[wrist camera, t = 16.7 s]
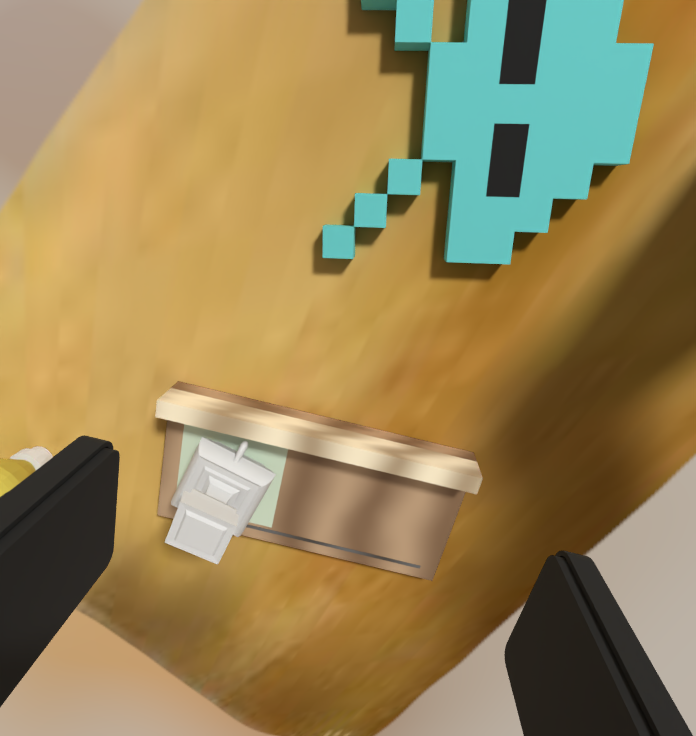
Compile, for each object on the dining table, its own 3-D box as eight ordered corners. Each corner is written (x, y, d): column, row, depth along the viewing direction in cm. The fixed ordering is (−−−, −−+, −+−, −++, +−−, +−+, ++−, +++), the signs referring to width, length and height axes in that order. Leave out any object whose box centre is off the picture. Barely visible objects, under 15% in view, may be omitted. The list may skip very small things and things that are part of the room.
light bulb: (49, 500, 46) (-38, 578, 36) (-8, 453, 44) (-114, 521, 35) (90, 461, 44) (9, 533, 34) (32, 411, 42) (-69, 471, 33)
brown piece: (473, 452, 40) (482, 478, 37) (430, 568, 45) (435, 602, 41) (178, 381, 40) (157, 399, 37) (164, 505, 45) (144, 533, 41)
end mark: (291, 435, 40) (290, 436, 39) (271, 526, 43) (271, 527, 43) (186, 410, 39) (185, 410, 39) (175, 503, 43) (174, 504, 43)
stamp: (217, 411, 39) (174, 465, 31) (288, 447, 40) (264, 509, 32) (179, 491, 42) (131, 559, 34) (246, 523, 43) (214, 597, 35)
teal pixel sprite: (326, 254, 36) (594, 263, 35) (322, 257, 34) (607, 267, 33) (329, -72, 30) (661, -76, 28) (324, -93, 27) (682, -98, 26)
